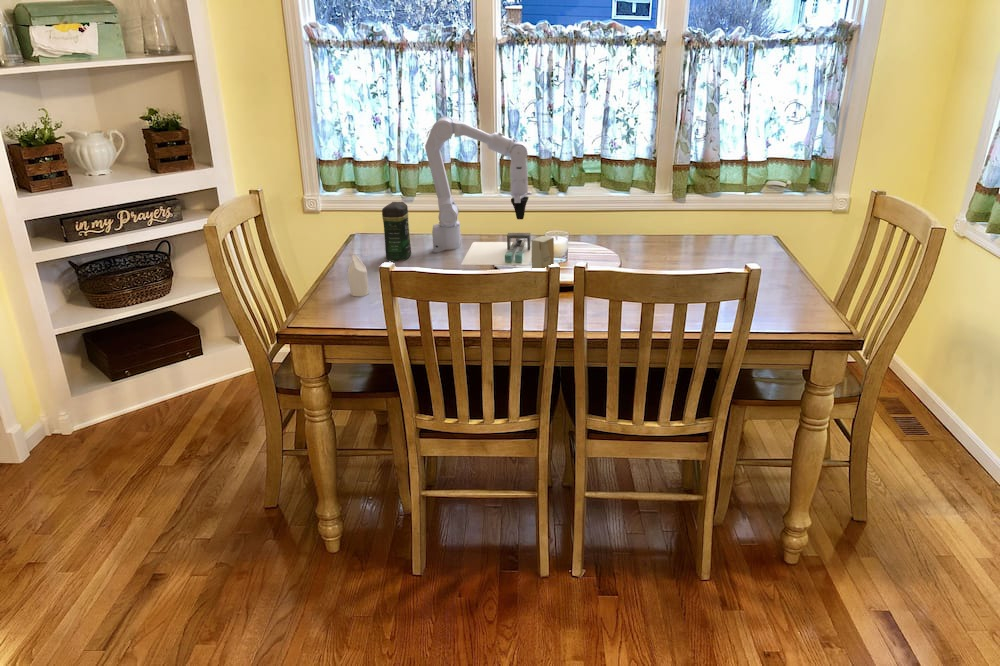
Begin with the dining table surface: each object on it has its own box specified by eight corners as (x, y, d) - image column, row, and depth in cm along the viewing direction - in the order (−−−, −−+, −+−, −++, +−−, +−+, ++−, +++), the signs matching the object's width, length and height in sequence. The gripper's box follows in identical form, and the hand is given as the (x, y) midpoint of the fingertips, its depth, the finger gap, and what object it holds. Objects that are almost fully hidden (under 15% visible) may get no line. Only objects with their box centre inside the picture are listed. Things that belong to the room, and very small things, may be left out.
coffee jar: (406, 262, 261) (401, 207, 254) (383, 261, 262) (378, 207, 255) (414, 253, 270) (409, 199, 262) (392, 253, 271) (387, 199, 264)
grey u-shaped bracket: (508, 246, 267) (508, 232, 265) (530, 246, 266) (530, 232, 264) (507, 249, 265) (506, 235, 263) (530, 249, 264) (529, 235, 262)
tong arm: (512, 246, 267) (511, 240, 266) (518, 246, 267) (518, 240, 266) (505, 262, 252) (504, 255, 251) (511, 262, 252) (511, 255, 251)
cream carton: (361, 257, 227) (342, 258, 228) (366, 296, 232) (347, 296, 233) (367, 251, 233) (348, 251, 233) (371, 289, 238) (353, 289, 238)
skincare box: (543, 281, 238) (542, 242, 234) (531, 278, 241) (530, 240, 236) (554, 275, 243) (554, 236, 238) (543, 272, 246) (542, 234, 241)
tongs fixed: (516, 244, 271) (516, 237, 270) (528, 244, 270) (527, 237, 269) (509, 262, 252) (509, 255, 251) (522, 262, 252) (521, 255, 251)
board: (461, 268, 253) (460, 264, 252) (473, 245, 276) (473, 241, 275) (529, 268, 250) (529, 264, 249) (536, 245, 273) (536, 241, 272)
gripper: (529, 183, 255) (530, 224, 260) (533, 174, 268) (533, 213, 274) (507, 184, 256) (508, 224, 261) (512, 174, 269) (513, 213, 275)
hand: (520, 218), depth 268 cm, fingers closed
